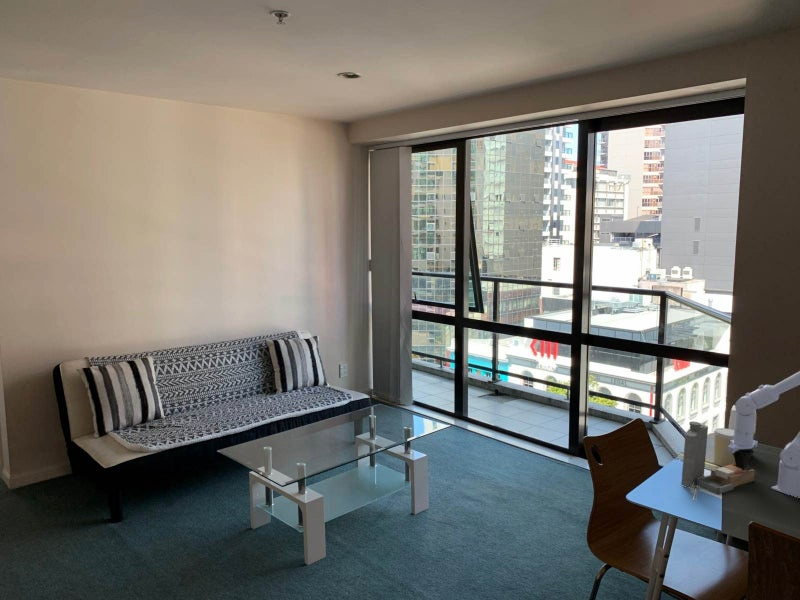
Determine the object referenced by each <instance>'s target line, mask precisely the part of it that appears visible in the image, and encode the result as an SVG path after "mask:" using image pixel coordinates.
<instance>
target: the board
mask: <svg viewBox="0 0 800 600" xmlns="http://www.w3.org/2000/svg"><path fill="white" fill-rule="evenodd" d="M730 465H733V466H736V464H735V463H734V464H730ZM727 466H728V465H727ZM722 467H723V466H720V467H718V468H722ZM724 467H725V466H724ZM718 468H713V469H711V470H710V475H712V481H715V482H717V483H720V484H722V485H728V484H731V483H733V484H734V486H733V488H736V487H739V486H742V485H746V484H747V483H751V482H754V481H755V475H756V473H755V472H756V471H755V469H753V468H752V469H749V470H747V469H745V470H743V471H742V473H739V474H735V475H732V476H729V477H728V479H725V478H723V477H720V476H717V475H716V469H718Z"/></svg>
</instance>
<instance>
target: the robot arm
mask: <svg viewBox="0 0 800 600" xmlns="http://www.w3.org/2000/svg"><path fill="white" fill-rule="evenodd" d="M799 385H800V370H799V371H797V372H795V373H794V374H792V375H790V376H788V377H787V378H785V379H783V380H782V381H780V382H778V383H776V384H774V385H772V384H771V385H770V384H765V385H764V384H761V385H759V386H758V388H757V389H755V390H754V391H752V392H747V393H745V395H743V396H741V397H740V398H739V399H738V400H737V401H736V402H735V404H734V405H735V408H736V410H737V412H736V418H735V429H734V440H730V442H731V444H730V445H729V446H728V447H727V452H730V453H732V454H733V456H734V459H735V464H736V467H739V468H741V469H742V471H743V470H746V468H747V464H748V463H749V462H748V461H749V460H750V459H751V457H752V456H753V454H754V450H753V449H754V447H755V448H756V447H758V440H753V434H754V424H755V419H754V418H755V412H754V411H757V409H758V410H759V409H763V408H765V407H766V406H768V405H770V404H772V403H774V402H776V401H778V400H779V398H780V395H781V394H783V393H785V392H786V391H789V390H791V389H793V388H796V387H798V386H799ZM784 446H785V447H784V449H782V450H781V452H780V453H779V463H778V464H779V465H778V466H779V467H778V473H777V474H778V476H777V483H776V485H773V486H771V487H770V489H772V490H774V491H777V492H780V493H781V494H785V495H788V496H790V495H791V496H790V497H793V496H794V497H793V498H796V497H797V496H798V498H800V431H799V432H798V433H797V435H796V436H795V438H794V439H793V440H792V441H790V442H788V443H787V444H786V445H784ZM752 448H753V449H752ZM750 449H752V450H750ZM749 458H750V459H749ZM798 498H797V499H798Z"/></svg>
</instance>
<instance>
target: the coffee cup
mask: <svg viewBox="0 0 800 600" xmlns="http://www.w3.org/2000/svg"><path fill="white" fill-rule="evenodd" d="M713 434H714V436H713V462H714V464H716V465H718V466H720V467H724V466H727V465H730V464H734V463H735V459H734V456H733V454H732V453H730V452H727V447H728V446H729V445H730V444H731V442H730V440H734V430H732V429H729V428H723V427H718V428H715V430H714V432H713Z"/></svg>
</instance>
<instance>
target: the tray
mask: <svg viewBox="0 0 800 600" xmlns="http://www.w3.org/2000/svg"><path fill="white" fill-rule="evenodd" d="M697 485H698V486H697ZM695 486H697V487H699V486H700V488H701V487H702V489H704V490H707V491H709V492H712V493H714V494H717V495H721V494H724V493H727V492H730V491H733V490H734V487H733V486H734V484H733V483H731V484H728V485H722V484H720V483H717V482H715V481H712V475H711V474H709V475H706V476H705V475H704V476H703V477H701V478H699V479H696V481H695Z"/></svg>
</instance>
